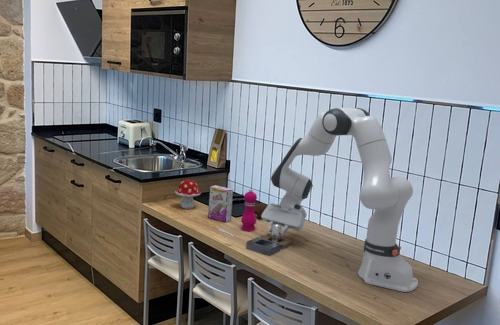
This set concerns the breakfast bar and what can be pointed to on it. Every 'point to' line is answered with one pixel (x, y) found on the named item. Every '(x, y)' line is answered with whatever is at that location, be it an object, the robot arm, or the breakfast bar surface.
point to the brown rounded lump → (259, 209)
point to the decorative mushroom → (187, 193)
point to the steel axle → (276, 232)
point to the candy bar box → (220, 203)
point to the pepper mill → (249, 211)
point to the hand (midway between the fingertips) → (275, 232)
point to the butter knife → (225, 232)
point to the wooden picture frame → (283, 241)
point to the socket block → (263, 246)
